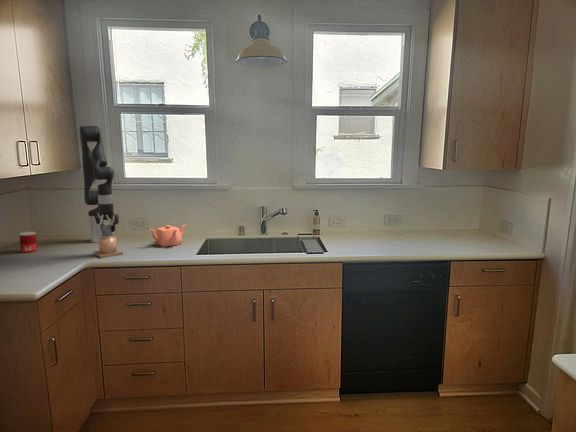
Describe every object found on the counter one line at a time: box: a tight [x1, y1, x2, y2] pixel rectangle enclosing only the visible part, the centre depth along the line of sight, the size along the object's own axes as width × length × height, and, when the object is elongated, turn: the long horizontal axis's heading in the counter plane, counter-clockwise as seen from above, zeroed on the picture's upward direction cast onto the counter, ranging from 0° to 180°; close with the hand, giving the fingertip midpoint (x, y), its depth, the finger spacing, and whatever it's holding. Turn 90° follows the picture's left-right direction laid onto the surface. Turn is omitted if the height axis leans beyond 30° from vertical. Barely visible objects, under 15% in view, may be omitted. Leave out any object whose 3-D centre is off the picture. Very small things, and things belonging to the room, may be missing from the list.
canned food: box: [18, 231, 38, 254], centre depth 219 cm, size 8×8×11 cm
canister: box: [93, 235, 124, 259], centre depth 216 cm, size 12×12×12 cm
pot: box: [148, 224, 187, 248], centre depth 240 cm, size 18×17×12 cm
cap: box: [101, 223, 113, 236], centre depth 215 cm, size 7×6×6 cm
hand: (108, 231), depth 216 cm, fingers closed on cap, 5 cm apart
